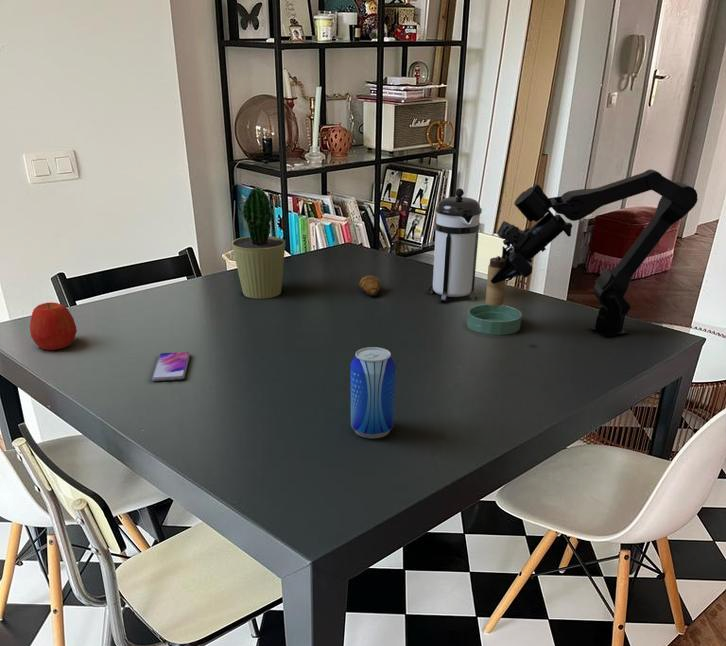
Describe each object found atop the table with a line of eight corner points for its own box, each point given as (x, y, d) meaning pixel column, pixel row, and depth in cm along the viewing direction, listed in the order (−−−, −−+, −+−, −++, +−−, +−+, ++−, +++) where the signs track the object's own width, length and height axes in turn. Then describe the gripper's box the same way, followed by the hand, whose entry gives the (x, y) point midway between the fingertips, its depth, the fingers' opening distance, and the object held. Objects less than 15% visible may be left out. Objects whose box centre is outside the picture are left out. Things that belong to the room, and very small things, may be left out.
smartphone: (151, 378, 162) (159, 352, 175) (151, 382, 163) (160, 356, 175) (184, 376, 163) (190, 351, 176) (184, 380, 163) (190, 354, 176)
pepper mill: (496, 299, 191) (500, 252, 184) (507, 304, 187) (511, 257, 181) (481, 301, 189) (485, 255, 183) (492, 307, 185) (496, 259, 179)
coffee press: (487, 293, 219) (497, 186, 203) (464, 307, 207) (473, 195, 191) (436, 283, 227) (442, 180, 211) (410, 297, 215) (415, 189, 199)
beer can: (349, 421, 147) (348, 345, 139) (390, 419, 148) (392, 344, 139) (352, 441, 140) (352, 363, 132) (396, 439, 141) (398, 361, 132)
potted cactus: (243, 283, 226) (235, 180, 210) (292, 286, 224) (288, 181, 208) (229, 299, 213) (219, 190, 197) (281, 302, 211) (275, 191, 195)
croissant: (385, 297, 215) (385, 280, 212) (362, 299, 214) (362, 281, 211) (376, 284, 226) (377, 268, 223) (355, 285, 225) (355, 269, 222)
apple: (88, 344, 182) (79, 302, 176) (46, 356, 175) (36, 313, 169) (66, 334, 188) (57, 293, 182) (25, 345, 181) (15, 303, 176)
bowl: (500, 315, 202) (501, 301, 200) (531, 332, 191) (533, 317, 189) (456, 322, 197) (457, 308, 195) (485, 340, 186) (487, 324, 184)
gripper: (515, 202, 184) (468, 246, 190) (523, 219, 168) (471, 266, 174) (543, 235, 187) (495, 277, 194) (554, 254, 171) (502, 299, 178)
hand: (491, 279), depth 185 cm, fingers closed on pepper mill, 4 cm apart
